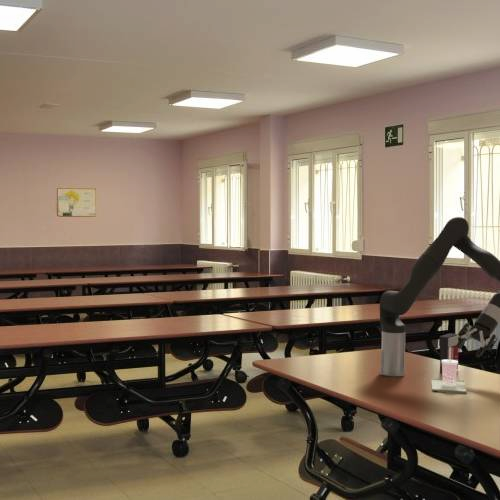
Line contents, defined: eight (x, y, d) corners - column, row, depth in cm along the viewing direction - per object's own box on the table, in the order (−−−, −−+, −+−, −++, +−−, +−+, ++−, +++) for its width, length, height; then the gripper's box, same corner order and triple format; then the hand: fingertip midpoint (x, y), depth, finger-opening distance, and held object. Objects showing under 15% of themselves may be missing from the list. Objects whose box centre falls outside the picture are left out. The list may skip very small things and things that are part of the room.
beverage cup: (459, 387, 268) (460, 349, 267) (442, 386, 268) (443, 348, 267) (455, 383, 274) (456, 346, 273) (439, 382, 274) (440, 345, 274)
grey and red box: (448, 374, 291) (449, 337, 290) (438, 373, 294) (439, 336, 293) (458, 370, 300) (459, 334, 299) (448, 368, 303) (449, 333, 302)
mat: (432, 391, 262) (432, 389, 262) (431, 380, 280) (431, 378, 280) (466, 393, 260) (466, 391, 260) (463, 382, 277) (463, 380, 277)
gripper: (508, 329, 280) (486, 363, 277) (477, 316, 290) (455, 349, 287) (502, 319, 275) (479, 354, 272) (471, 307, 286) (448, 340, 282)
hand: (467, 352), depth 280 cm, fingers open, 8 cm apart
